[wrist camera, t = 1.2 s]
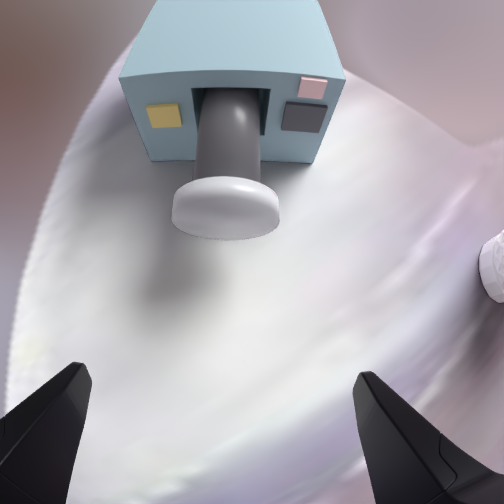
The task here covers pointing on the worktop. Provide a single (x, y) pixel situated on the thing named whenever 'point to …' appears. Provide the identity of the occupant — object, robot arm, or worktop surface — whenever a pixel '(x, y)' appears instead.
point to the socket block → (234, 73)
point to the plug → (227, 172)
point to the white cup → (493, 267)
